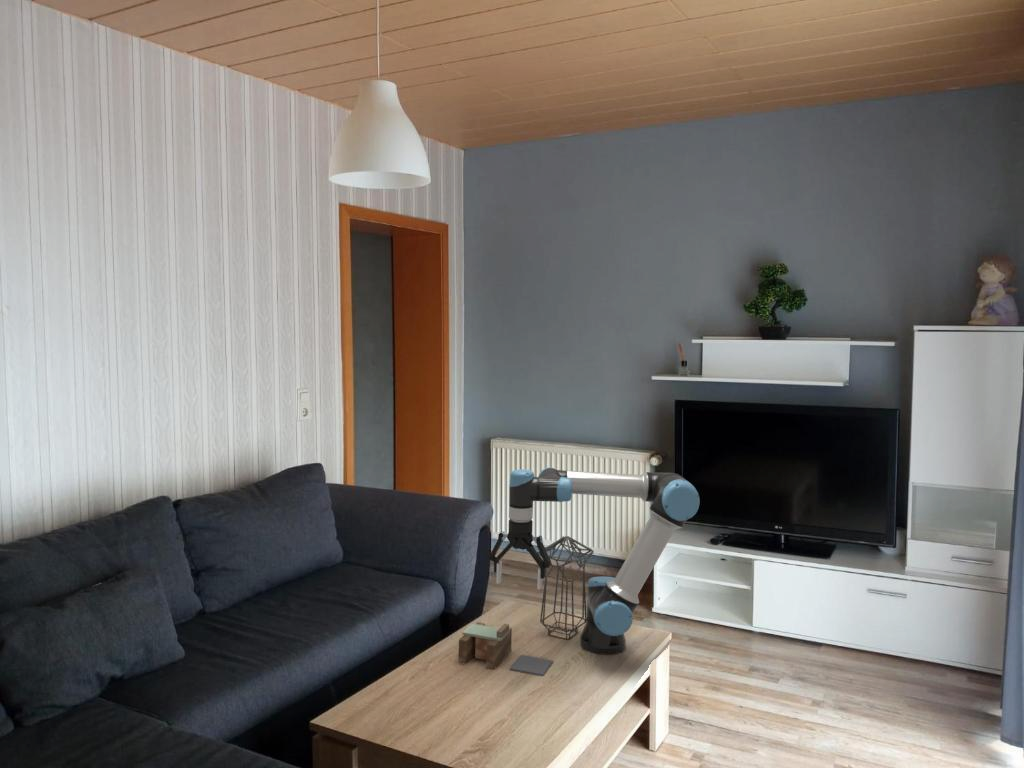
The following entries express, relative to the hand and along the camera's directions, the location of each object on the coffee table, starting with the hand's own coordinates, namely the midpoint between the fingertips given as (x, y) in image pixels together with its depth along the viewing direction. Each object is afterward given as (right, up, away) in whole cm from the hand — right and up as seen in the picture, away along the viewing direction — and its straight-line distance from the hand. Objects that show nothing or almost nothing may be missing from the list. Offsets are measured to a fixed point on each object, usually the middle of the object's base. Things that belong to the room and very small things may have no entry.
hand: (519, 585), depth 259 cm
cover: (-11, -16, +4) cm, 20 cm away
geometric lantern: (+15, -23, +24) cm, 37 cm away
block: (-11, -24, +5) cm, 27 cm away
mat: (+4, -25, -1) cm, 25 cm away
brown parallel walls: (-11, -24, +5) cm, 27 cm away
